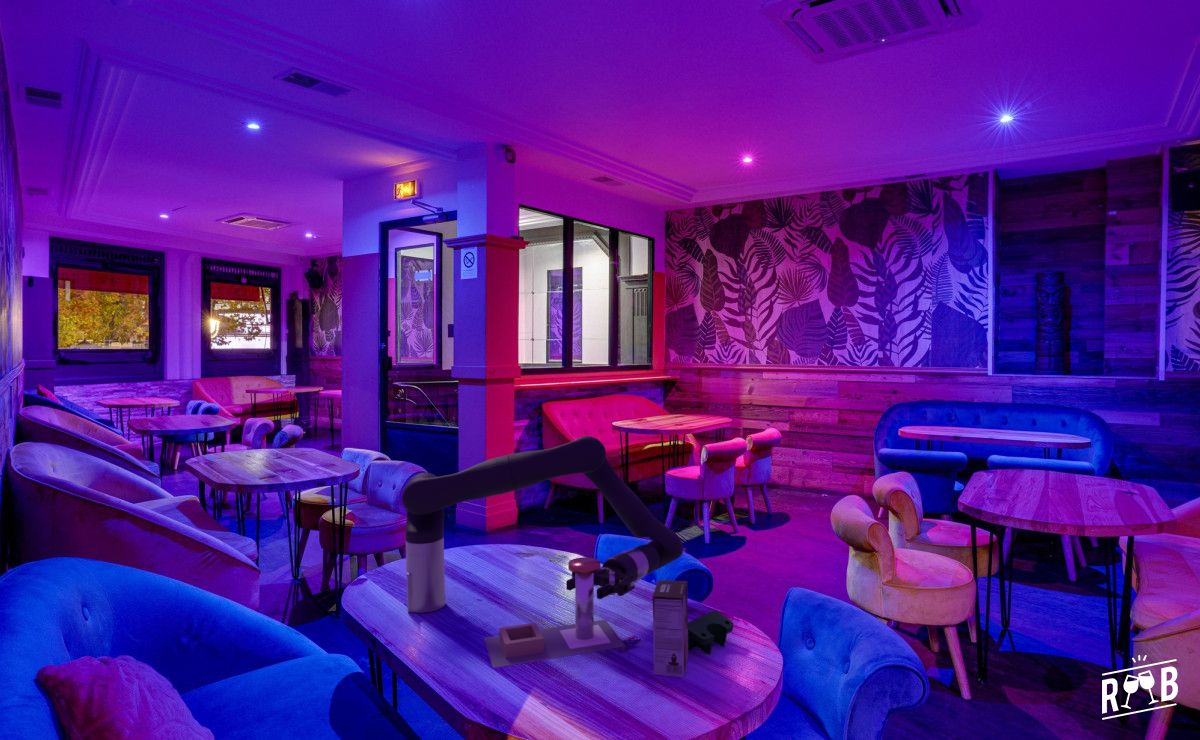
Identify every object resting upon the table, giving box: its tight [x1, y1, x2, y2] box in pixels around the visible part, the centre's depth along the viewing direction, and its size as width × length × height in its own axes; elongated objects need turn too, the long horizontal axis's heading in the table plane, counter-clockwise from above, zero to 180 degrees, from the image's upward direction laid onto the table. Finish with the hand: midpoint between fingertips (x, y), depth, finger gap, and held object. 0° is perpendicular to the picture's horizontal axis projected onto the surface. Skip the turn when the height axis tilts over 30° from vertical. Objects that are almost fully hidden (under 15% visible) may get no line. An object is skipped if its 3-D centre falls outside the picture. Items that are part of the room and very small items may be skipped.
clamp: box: [688, 609, 735, 656], centre depth 141 cm, size 12×6×9 cm, turn 127°
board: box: [483, 619, 627, 669], centre depth 141 cm, size 28×14×4 cm, turn 107°
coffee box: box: [652, 579, 689, 678], centre depth 132 cm, size 9×6×16 cm
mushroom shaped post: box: [567, 557, 602, 640], centre depth 143 cm, size 7×7×16 cm
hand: (582, 590), depth 142 cm, fingers open, 8 cm apart
